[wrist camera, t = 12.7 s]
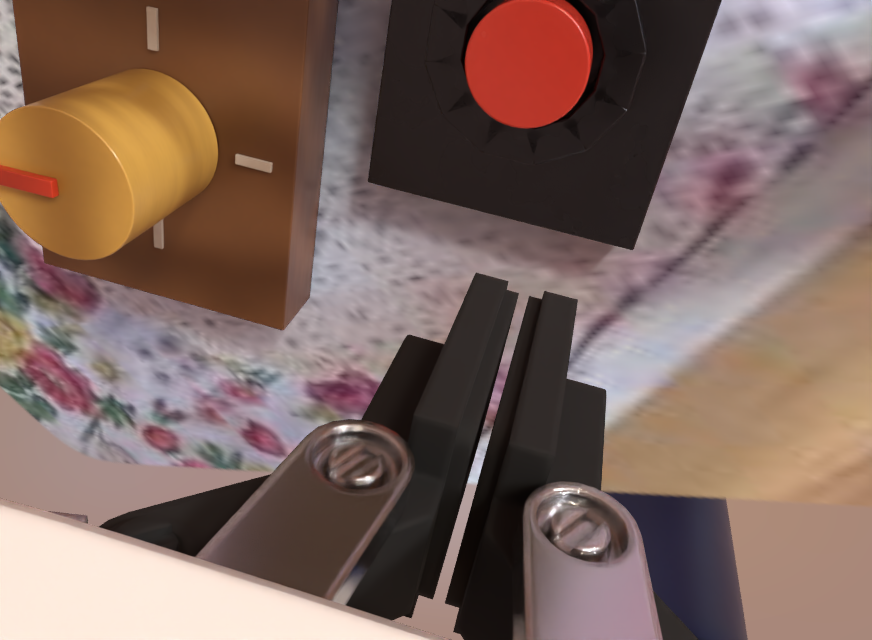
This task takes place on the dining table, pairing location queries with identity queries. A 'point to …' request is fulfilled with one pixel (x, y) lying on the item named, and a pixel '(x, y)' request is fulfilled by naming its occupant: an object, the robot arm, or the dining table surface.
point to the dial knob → (104, 161)
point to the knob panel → (235, 131)
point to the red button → (529, 61)
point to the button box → (548, 145)
